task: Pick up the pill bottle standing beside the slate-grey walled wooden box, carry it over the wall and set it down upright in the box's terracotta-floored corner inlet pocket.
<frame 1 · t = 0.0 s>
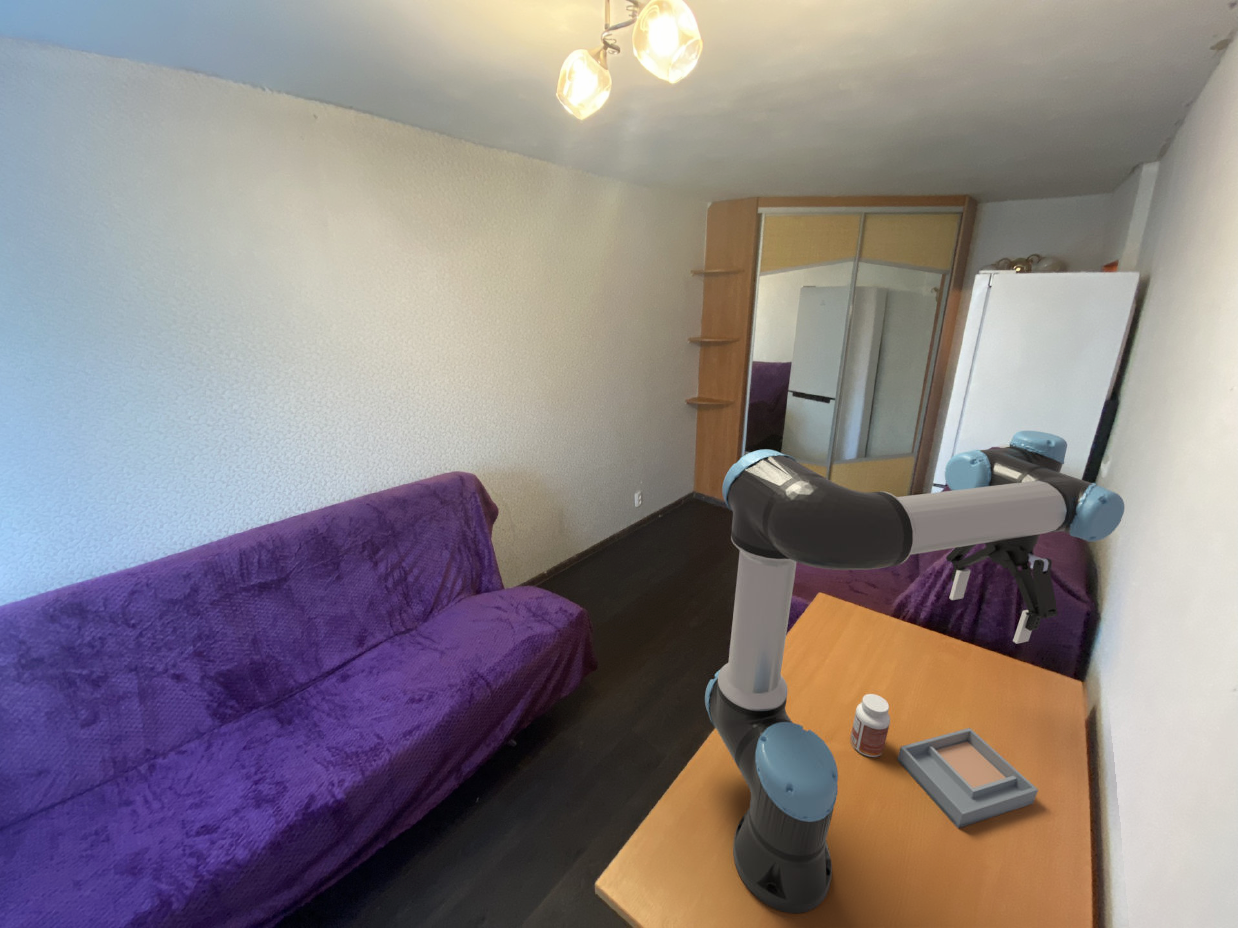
hand: (986, 618, 100), 28 cm above the table, fingers open, 13 cm apart
walled box: (962, 780, 99), on the table
pill bottle: (866, 746, 106), on the table
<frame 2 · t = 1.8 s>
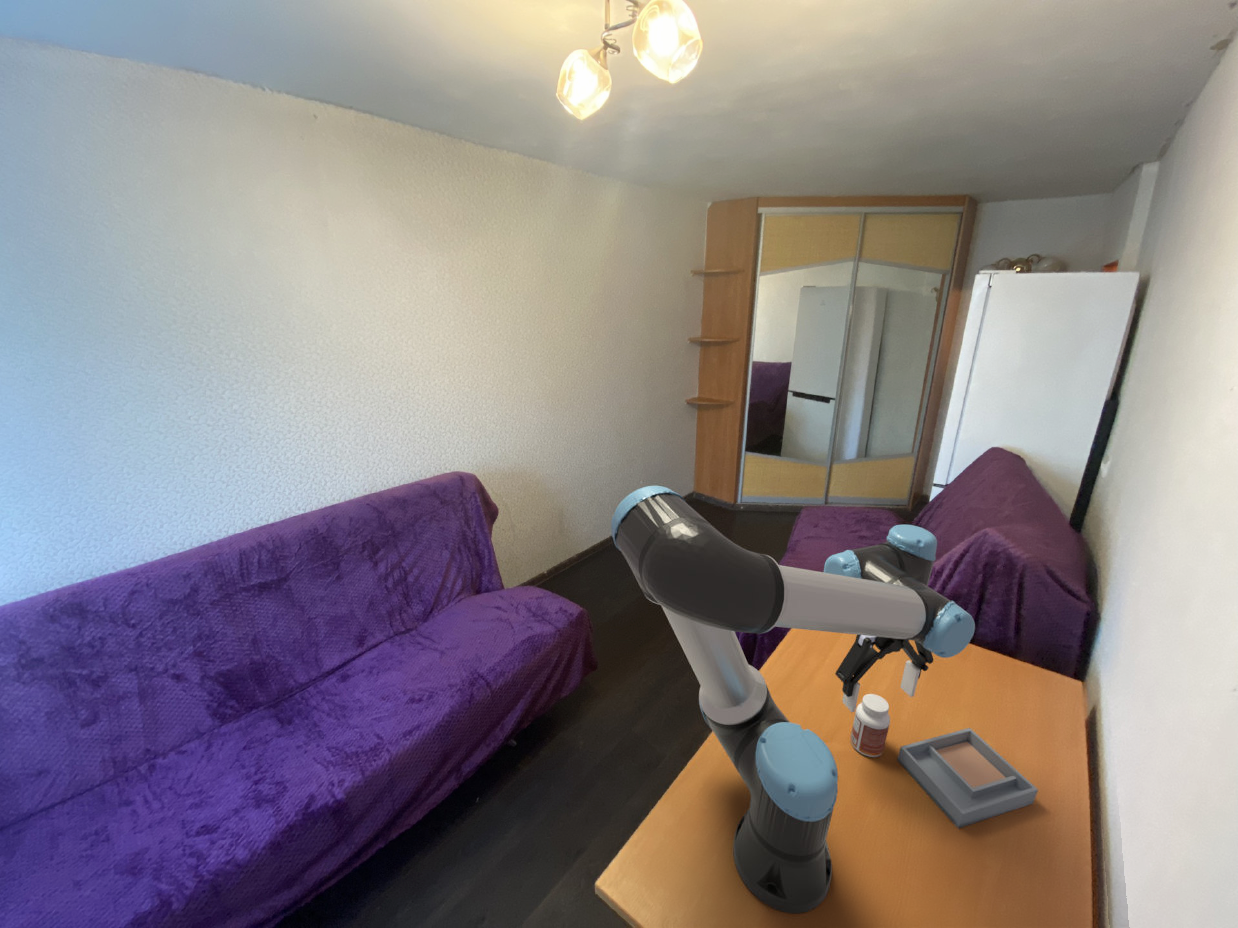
hand: (878, 699, 102), 12 cm above the table, fingers open, 13 cm apart
nothing on the table moved.
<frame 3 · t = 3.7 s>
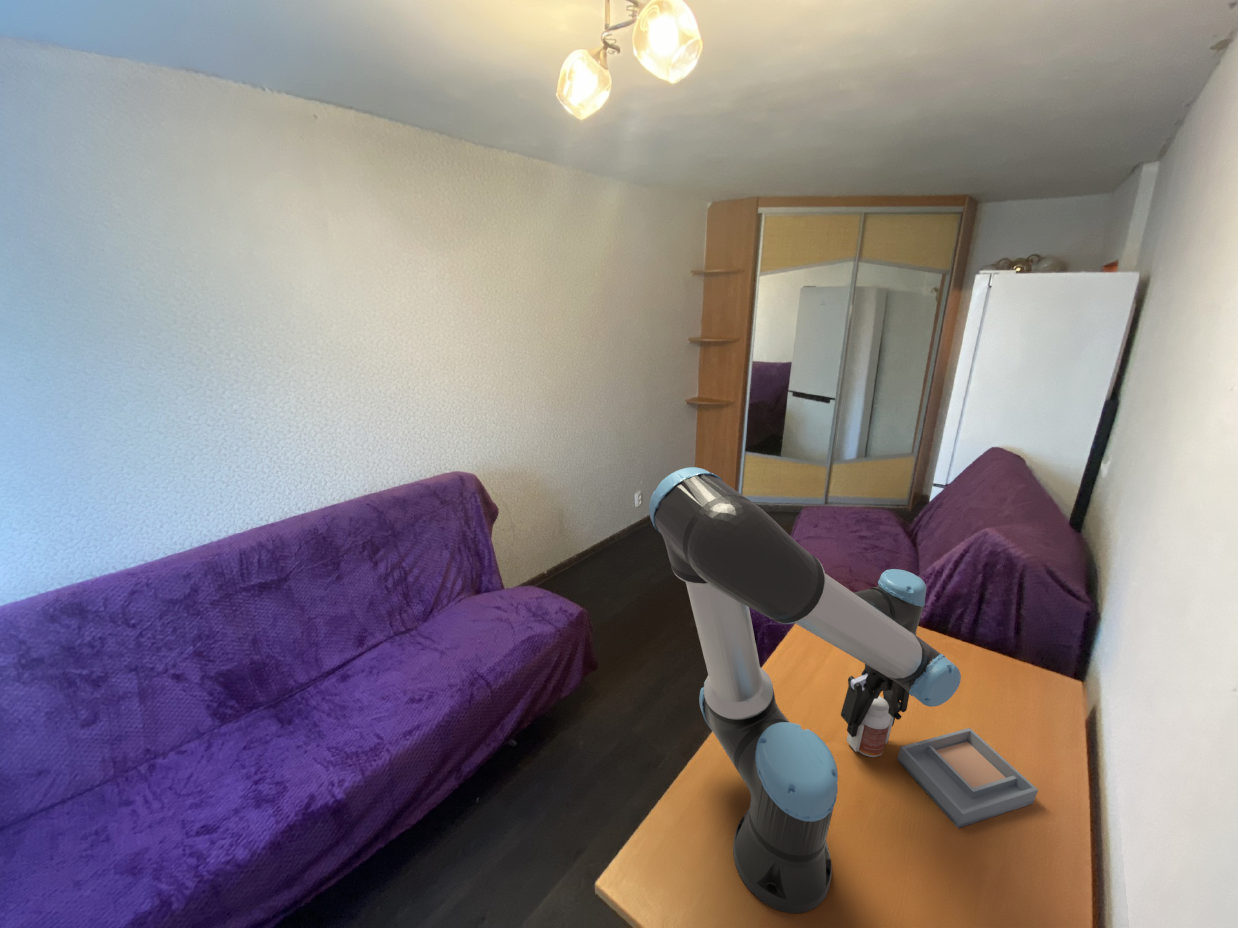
hand: (867, 741, 106), 1 cm above the table, fingers closed on pill bottle, 6 cm apart
pill bottle: (866, 746, 106), on the table, touching gripper
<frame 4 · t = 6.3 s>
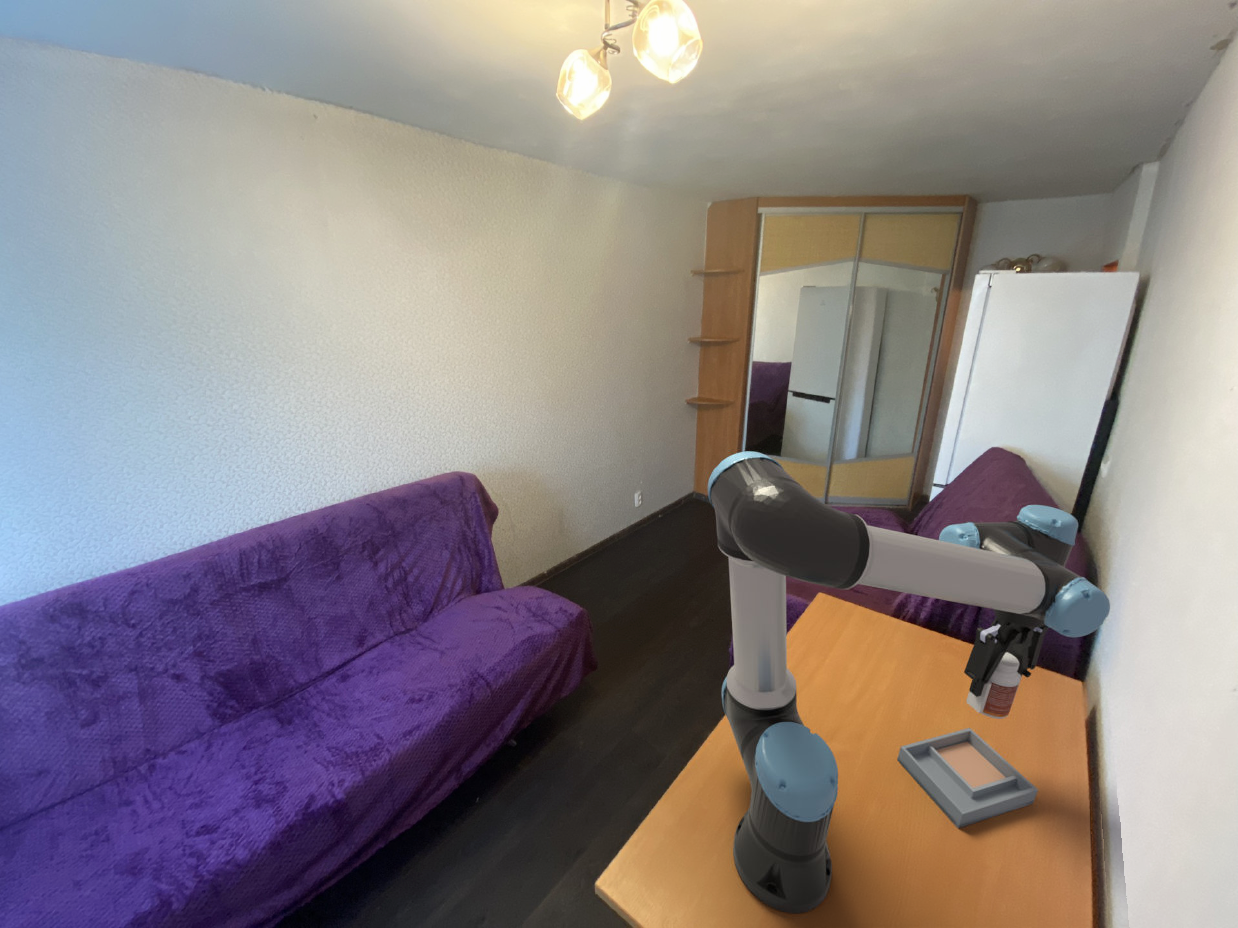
hand: (989, 703, 96), 16 cm above the table, fingers closed on pill bottle, 6 cm apart
pill bottle: (987, 707, 96), point 15 cm above the table, touching gripper
when the fingers open (4 cm above the table, at t = 9.1 s): pill bottle drops 2 cm, resting on walled box.
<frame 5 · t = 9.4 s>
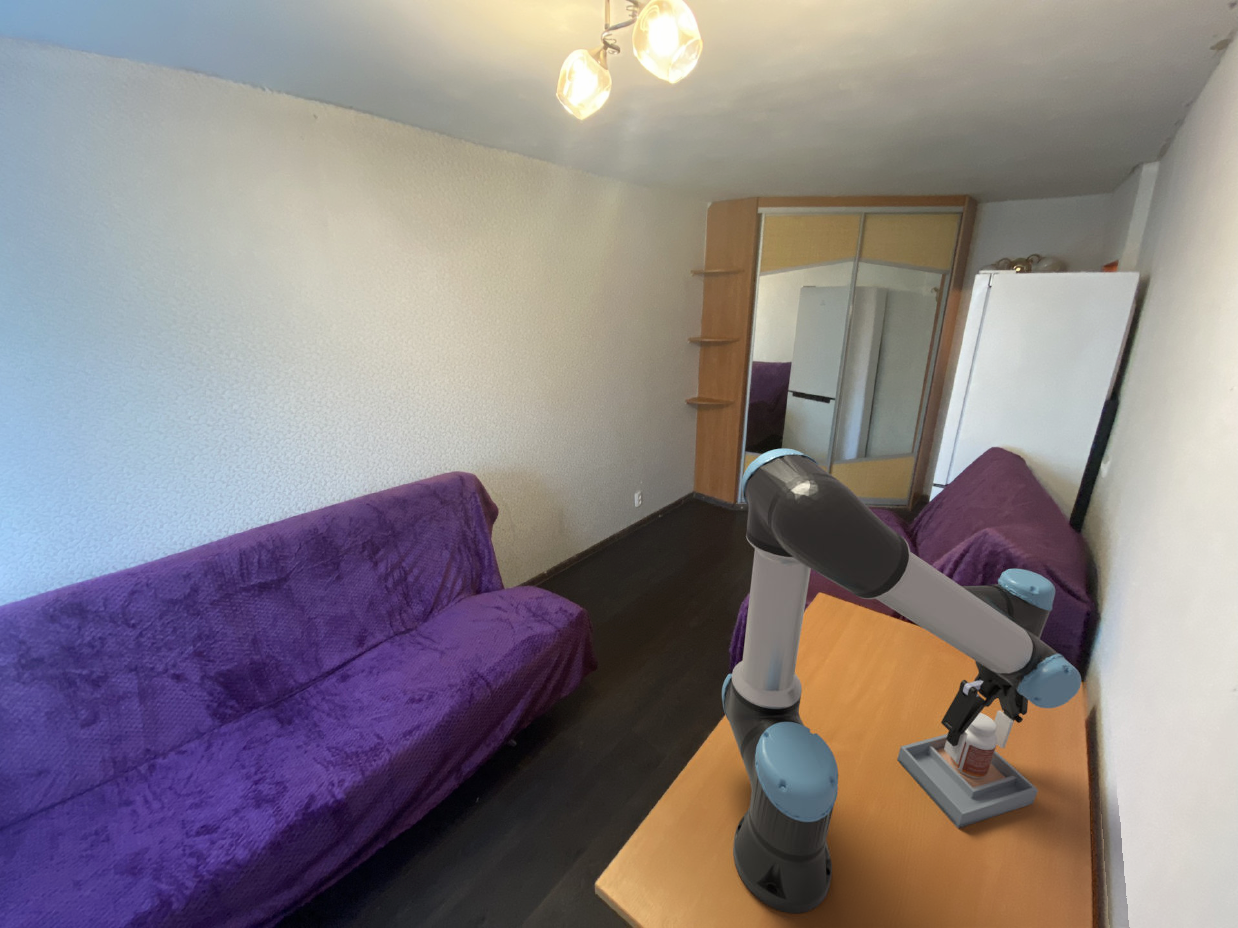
hand: (974, 748, 100), 5 cm above the table, fingers open, 10 cm apart
pill bottle: (967, 766, 101), point 1 cm above the table, touching walled box
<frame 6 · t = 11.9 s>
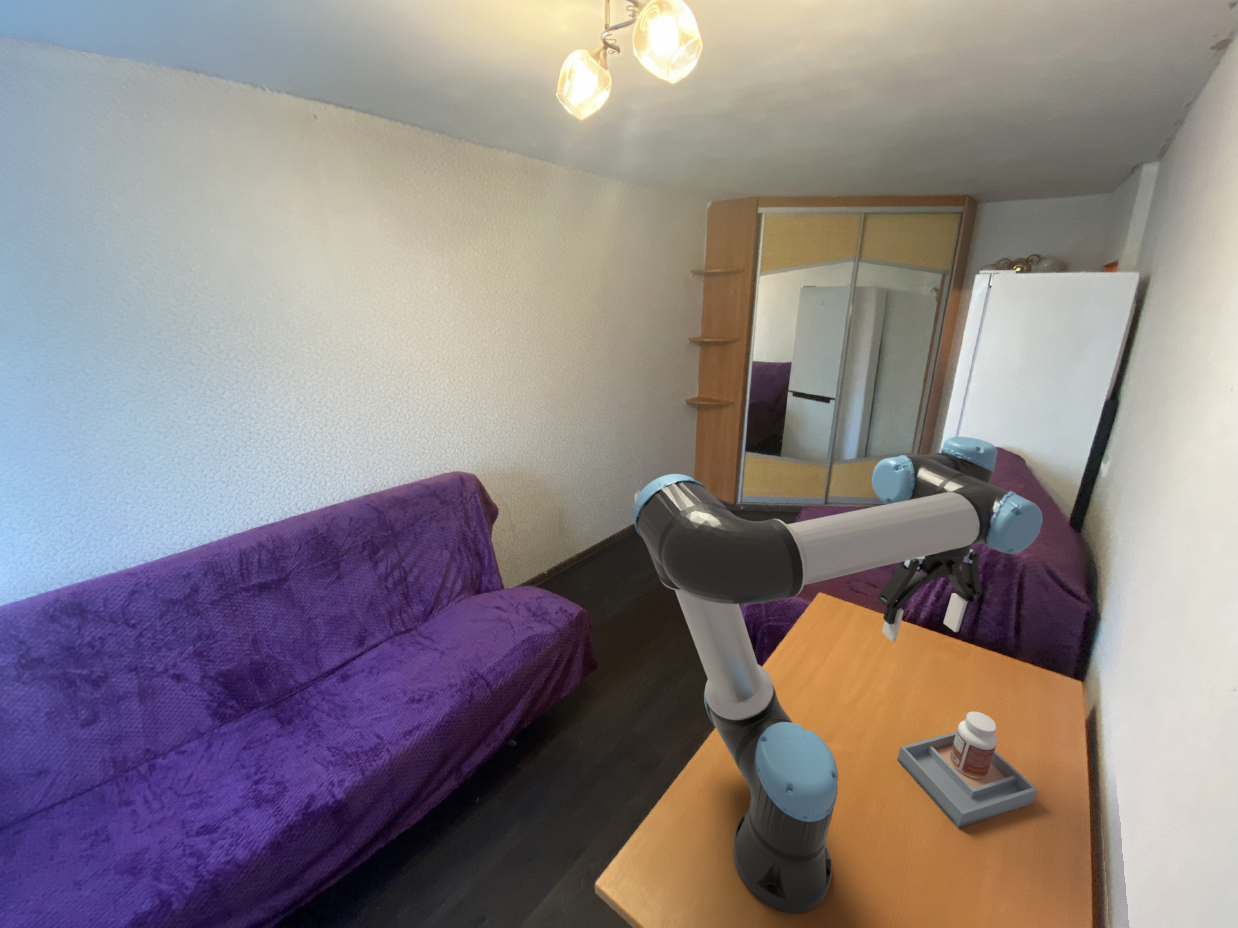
hand: (920, 632, 96), 28 cm above the table, fingers open, 13 cm apart
nothing on the table moved.
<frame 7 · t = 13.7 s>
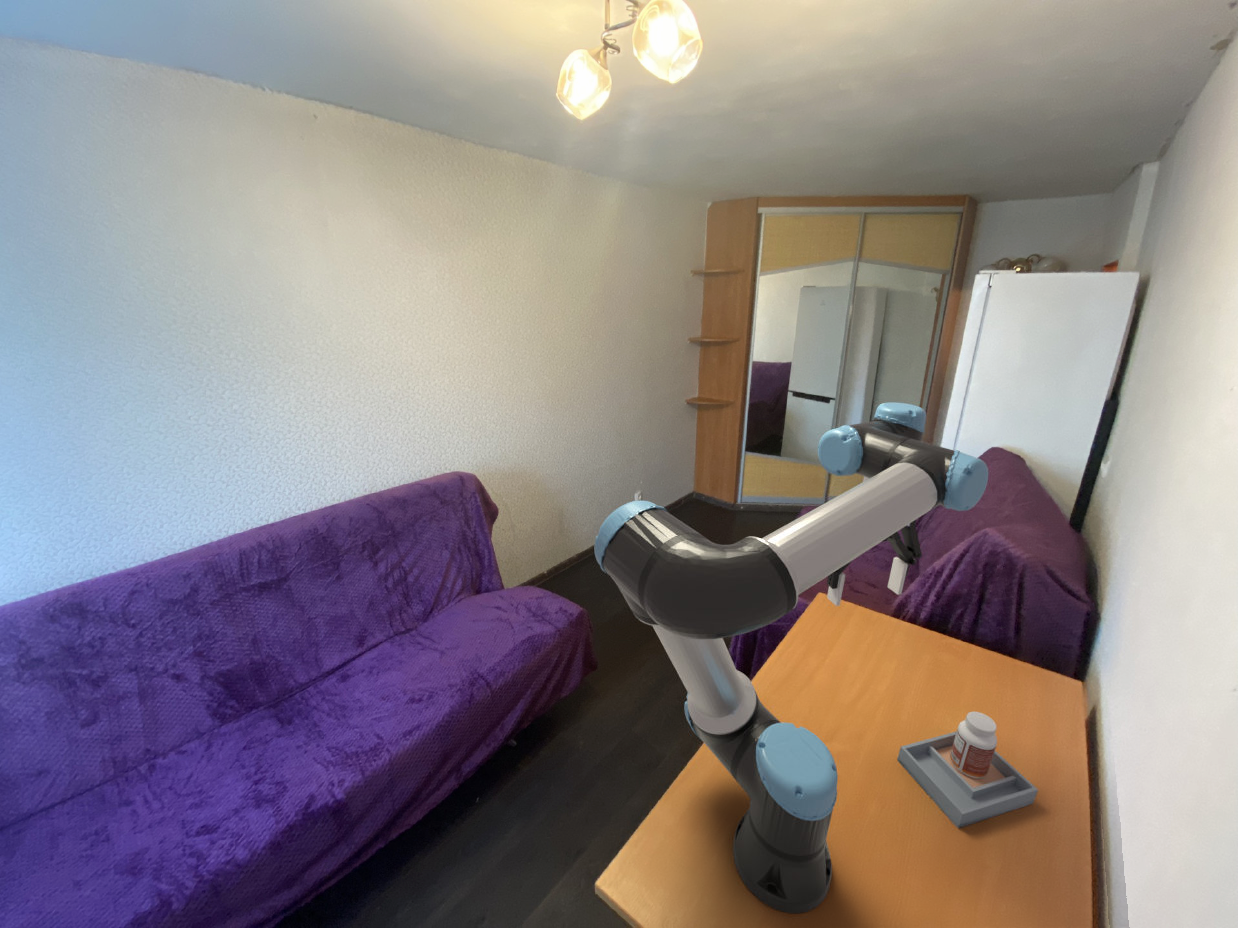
hand: (864, 596, 99), 33 cm above the table, fingers open, 13 cm apart
nothing on the table moved.
at the end: pill bottle inside the target area on the walled box (0.3 cm from its centre), point 0.8 cm above the walled box's base; pill bottle tilted 0°; the gripper is holding nothing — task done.
